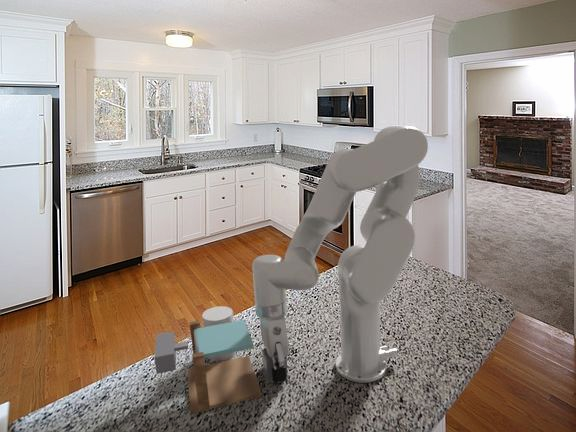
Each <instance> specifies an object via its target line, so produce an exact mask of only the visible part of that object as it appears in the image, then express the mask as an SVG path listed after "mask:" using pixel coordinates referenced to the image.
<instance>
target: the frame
mask: <svg viewBox="0 0 576 432" xmlns="http://www.w3.org/2000/svg"><path fill="white" fill-rule="evenodd" d="M200 323H201V322H200V320H195V321H189V330H190V338H191V346H192V347H191V348H192V353H191V356H192V357H191V358H192V367H190V368H187V380H188V382H187V383H188V395H189V396H188V399H189V413H190V414H195V413H202V412H205V411H210V410H212V409H215V408H218V407H223V406H227V405H233V404H235V403H240V402H244V401H247V400H252V399H256V398H261V397H263V393H262V391H261V388H260V385H259V381H258V379H257V375H256V372H255V370H254V366H253V363H252V361H251V358H250V356H249V355H246V356H242V357H237V358H233V359H232V358H231V359H228V360H225V361H219V362H214V363H209V364H206V362H205V358H204V352H200V353H195V342H194V332H193V330H194V329H195V328H201V324H200Z"/></svg>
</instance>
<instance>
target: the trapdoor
mask: <svg viewBox="0 0 576 432" xmlns="http://www.w3.org/2000/svg"><path fill="white" fill-rule="evenodd" d="M193 332H194V342H195V353H200V352H204V359H208V357H213V356H218V355H223V354H228V353H233V352H236V353H237V352H242V351H246V350H251V349H254V348H255V347H254V341H253V339H252V337H251V334H250V331H249V329H248V326H247V323H246V321H245V319H242V320H234V322H230V323H224V324H219V325H213V326H208V327H200V328H195V329H194V330H193ZM175 337H176V336H175V331H174V330H173V331H166V332H161V333H156V335H155V348H154V364H155V371H156V375H158V374H163V373H167V372H172V371H177V354H176V353H177V352H179V351H183V350H188V349H189V341H188V340H186V341H182V342H176V338H175Z"/></svg>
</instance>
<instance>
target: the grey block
mask: <svg viewBox="0 0 576 432" xmlns="http://www.w3.org/2000/svg"><path fill="white" fill-rule="evenodd" d="M273 355H277V353H276V352H274V354H273ZM283 355H284V359H285V366H286V379H288V378H289V377H288V363H287V361H288V360H287V355H285V354H284V352H283ZM261 356H262V369H263V373H264V375H265V378H266V381H267V383H271V382H272V383H273V376H272V367H273V363H272V358H271V357H269V355H268V353H267V351H266V349H264V348H263V349H261ZM275 362H278V357H277V358H275Z"/></svg>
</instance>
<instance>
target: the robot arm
mask: <svg viewBox="0 0 576 432" xmlns="http://www.w3.org/2000/svg"><path fill="white" fill-rule="evenodd" d="M428 148H429V142H428V139H427V137H426V135H425V134H424V132H423V131H422V130H420V129H418V128H417V127H414V126H410V125H394V126H393V125H392V126H387V127H385V128H382V129H381V130H379V132H378V133H377V134H375V136H374V140H372V141H371V142H369V143H366V144H365V145H364V144H363V145H362V146H359V147H356V148H341V149H339V150H336V151H335V152H334V153H333V154H332V155H331V157H330V158H329V160H328V161H327V164H326V166H325V169H324V171H323V173H322V175H321V177H320V180H319V183H318V185H317V187H316V189H315V192H314V195H313V196H312V199H311V201H310V203H309V206H308V207H307V208H306V211H305V213H304V214H303V216H302V218H301V219H300V222H299V223H298V225H297V227H296V229H295V231H294V233H293V235H292V237H291V241H290V243H289V244H288V247H287V250H286V251H285V255H284V258H282V257H281V256H280V255H276V254H263V255H259V256H257V257H256V258H255V259H253V261H252V264H251V265H252V267H251V268H252V280H253V281H252V282H253V296H254V308H255V309H254V310H255V316H257V318H259V324H260V325H259V326H260V336H261V340H262V343H263V346H264V348H263V349H266V351H267V353H268V355H269V357H271V358H272V363H273V367H272V376H273V381H272V383H273V384H277V383H282V382H285V381H287V378H286V366H285V359H284V355H283V352H284V354H285V355H286V356H287V355H289V354H290V347H289V338H288V329H287V321H286V317H285V315H287V312H288V309H287V307H288V306H287V305H288V304H287V290H290V291H292V290H293V291H308V290H311V289H312V288H314V287H315V286H316V285H317V284H318V281H319V277H320V272H319V269H318V265H317V264H316V261H315V259H316V258H317V257H316V256H317V254H318V252H319V250H320V248H321V245H322V243H323V242H324V240H325V238H326V237H327V236H328V234H330V232H331V231H333V230H334V229H337V228H338V227H339V226H341V225H342V224H343V222H344V221H345V218H346V215H348V211H349V210H350V207H351V204H352V202H353V200H354V198H355V196H356V194H357V193H358V192H362V191H365V190H368V189H371V188H373V187H375V186H377V189H376V191H375V193H374V195H373V198H372V199H371V201H370V204H369V205H368V206H367V209H366V211H365V213H364V215H363V218H361V221H360V225H359V230H360V231H359V232H360V234H361V236H362V238H363V239H364V241H365V242H366V243H365V245H358V244H357V245H352V246H349V247H347V248H346V249H345V250H343V252H342V253H341V254H340V256H339V259H338V262H337V274H338V284H339V285H338V286H339V299H340V302H339V303H340V304H339V305H340V311H339V312H340V344H341V345H340V352H341V353H340V354H338V356H337V357H336V359H335V362H334V365H335V370H336V372H337V373H338V374H339V375H340V376H341V377H342V378H344V379H345V380H346V379H347V381H351V382H355V383H360V384H361V383H363V384H364V383H372V382H375V381H378V380H380V379H382V378H383V377H384V375H385V374H386V372H387V363H386V361H387V359H389V358H394V357H397V356H398V350H397V348H395V347H394V348H390V349H388V346H387V345H381V302H382V300H384V299H385V298H386V297H388V295H389V294H390V293H391V291H392V290H393V288H394V286H395V284H396V283H397V281H398V279H399V276H400V275H401V273H402V271H403V269H404V268H405V265H406V264H407V261H408V259H409V257H410V255H411V253H412V251H413V249H414V246H415V241H416V234H415V228H414V226H413V225H412V223H411V221H409V219H408V218H407V216H408V214H409V211H410V210H411V207H412V205H413V202H414V201H415V198H416V196H417V194H418V190H419V188H420V179H421V178H420V173H421V172H420V167H419V165H420V164H421V163H422V161H423V160H424V159H425V158H426V156H427V153H428ZM274 352H276V353H277V355H273V354H274ZM277 357H278V362H275V358H277Z"/></svg>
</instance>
